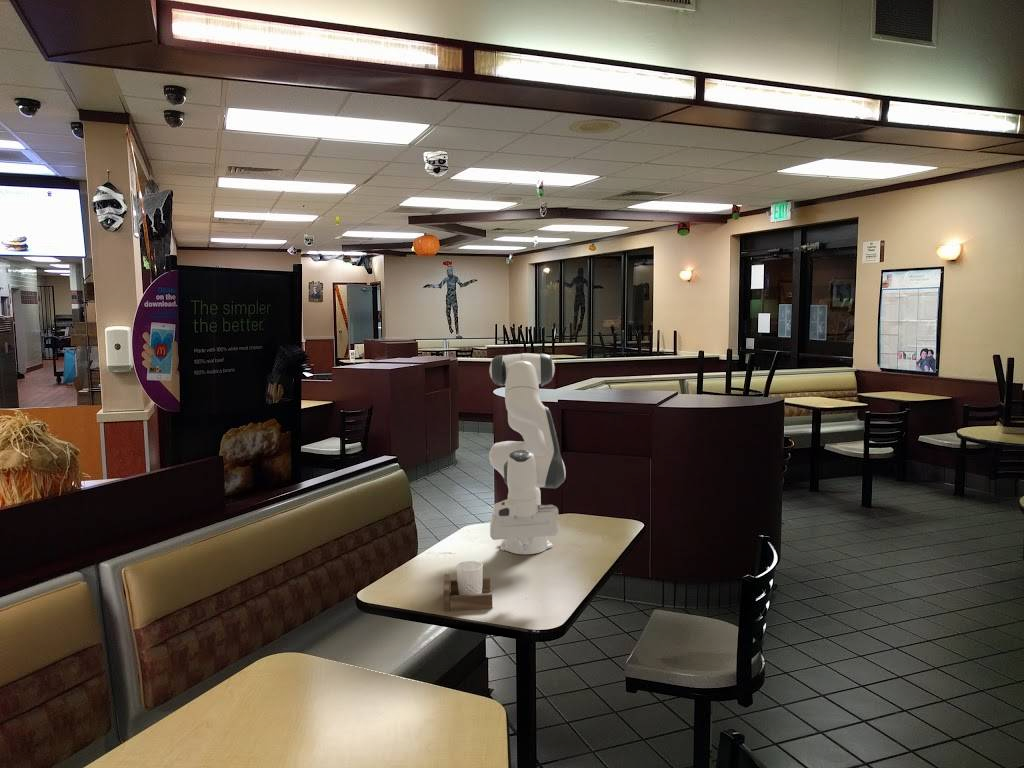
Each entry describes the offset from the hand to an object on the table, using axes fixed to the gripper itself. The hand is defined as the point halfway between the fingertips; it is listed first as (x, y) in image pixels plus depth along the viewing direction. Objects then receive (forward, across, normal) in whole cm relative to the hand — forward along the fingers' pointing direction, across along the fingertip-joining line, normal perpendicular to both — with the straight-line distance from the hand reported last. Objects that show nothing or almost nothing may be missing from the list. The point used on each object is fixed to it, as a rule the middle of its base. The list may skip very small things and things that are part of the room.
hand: (524, 551), depth 201 cm
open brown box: (+13, +17, +2) cm, 21 cm away
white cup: (+14, +17, 0) cm, 21 cm away
